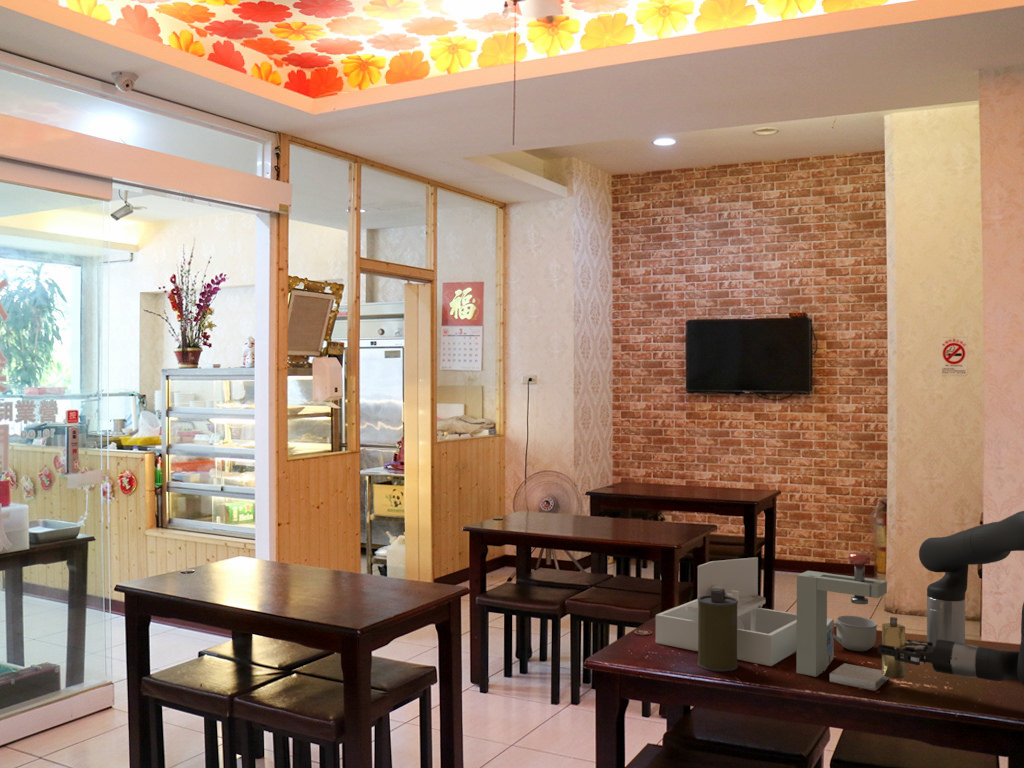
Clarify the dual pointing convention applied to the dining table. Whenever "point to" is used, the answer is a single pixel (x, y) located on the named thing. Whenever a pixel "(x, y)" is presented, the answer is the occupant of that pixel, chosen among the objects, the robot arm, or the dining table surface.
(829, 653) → the light bulb box
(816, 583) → the press frame
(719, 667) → the canister
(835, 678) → the plate
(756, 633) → the box
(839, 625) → the teacup
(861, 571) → the ram
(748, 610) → the upright panel with ledge
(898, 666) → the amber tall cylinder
